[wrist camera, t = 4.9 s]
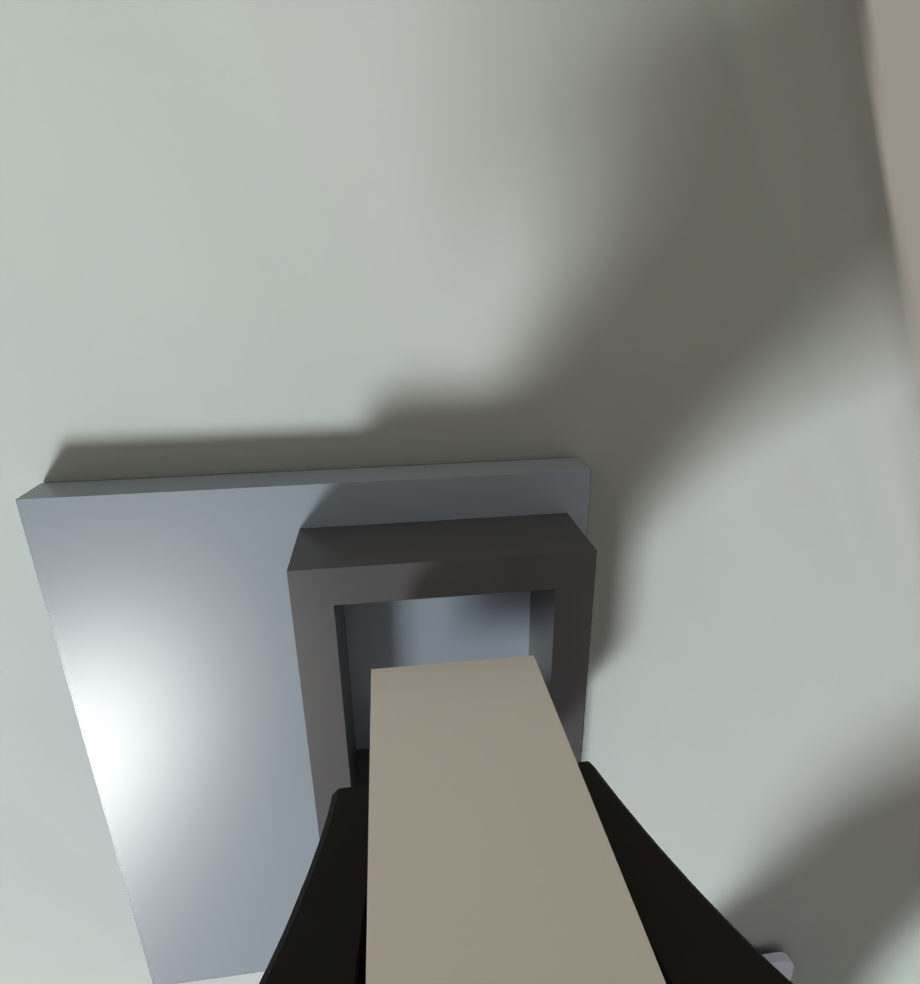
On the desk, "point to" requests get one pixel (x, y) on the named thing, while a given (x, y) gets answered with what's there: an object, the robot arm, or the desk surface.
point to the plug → (488, 838)
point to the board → (241, 670)
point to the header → (433, 574)
